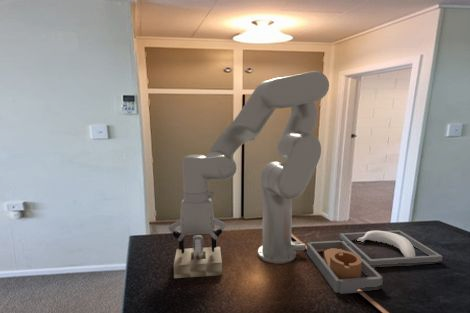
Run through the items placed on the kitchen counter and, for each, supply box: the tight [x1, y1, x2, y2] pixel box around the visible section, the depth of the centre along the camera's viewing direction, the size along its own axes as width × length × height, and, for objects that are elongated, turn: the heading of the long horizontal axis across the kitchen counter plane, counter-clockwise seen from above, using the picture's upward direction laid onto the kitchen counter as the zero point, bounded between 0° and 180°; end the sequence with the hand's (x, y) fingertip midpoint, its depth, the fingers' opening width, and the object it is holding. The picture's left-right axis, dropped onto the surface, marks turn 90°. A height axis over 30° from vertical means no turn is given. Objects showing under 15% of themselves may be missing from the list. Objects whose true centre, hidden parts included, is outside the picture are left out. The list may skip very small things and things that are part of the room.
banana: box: [357, 230, 416, 257], centre depth 98 cm, size 5×19×15 cm
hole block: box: [173, 246, 223, 279], centre depth 89 cm, size 14×10×4 cm
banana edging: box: [338, 229, 443, 265], centre depth 98 cm, size 24×20×2 cm
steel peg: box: [192, 234, 204, 259], centre depth 88 cm, size 3×3×10 cm
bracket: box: [323, 248, 362, 279], centre depth 86 cm, size 18×8×7 cm, turn 172°
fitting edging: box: [306, 240, 384, 295], centre depth 87 cm, size 13×23×4 cm, turn 6°
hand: (198, 250), depth 88 cm, fingers open, 8 cm apart
